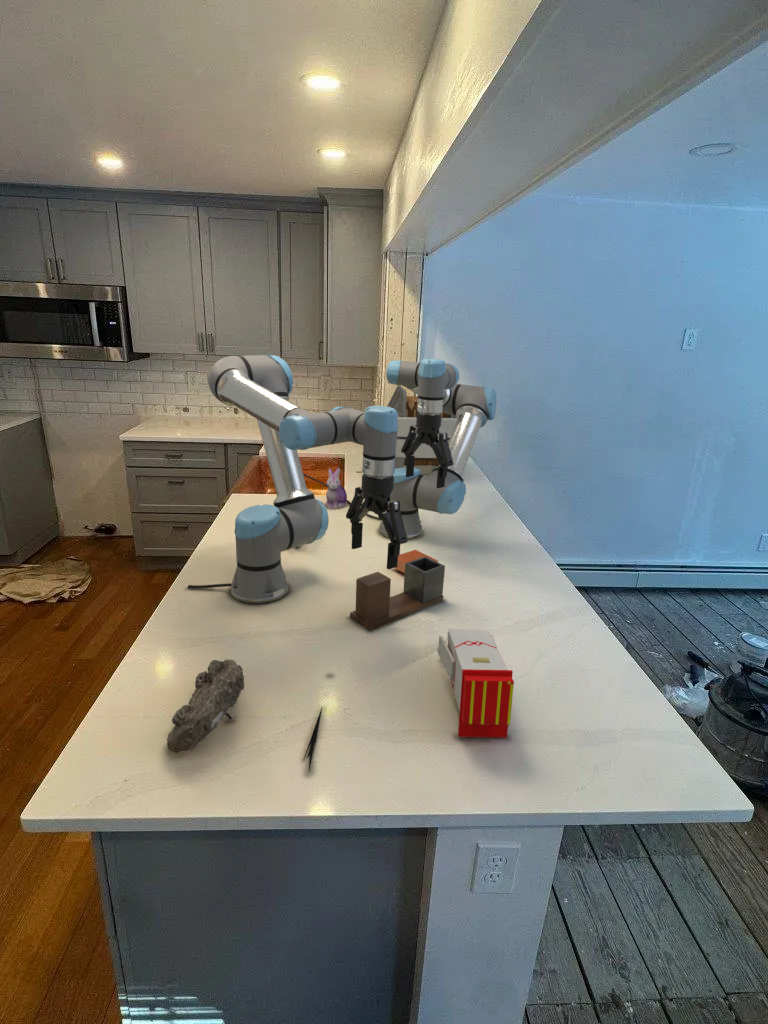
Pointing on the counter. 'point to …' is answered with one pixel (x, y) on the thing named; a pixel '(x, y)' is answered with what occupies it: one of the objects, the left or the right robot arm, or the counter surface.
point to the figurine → (335, 491)
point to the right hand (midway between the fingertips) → (424, 481)
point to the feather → (313, 740)
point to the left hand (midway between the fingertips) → (373, 557)
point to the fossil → (206, 705)
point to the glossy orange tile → (409, 559)
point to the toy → (478, 682)
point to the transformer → (407, 418)
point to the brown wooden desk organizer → (418, 594)
